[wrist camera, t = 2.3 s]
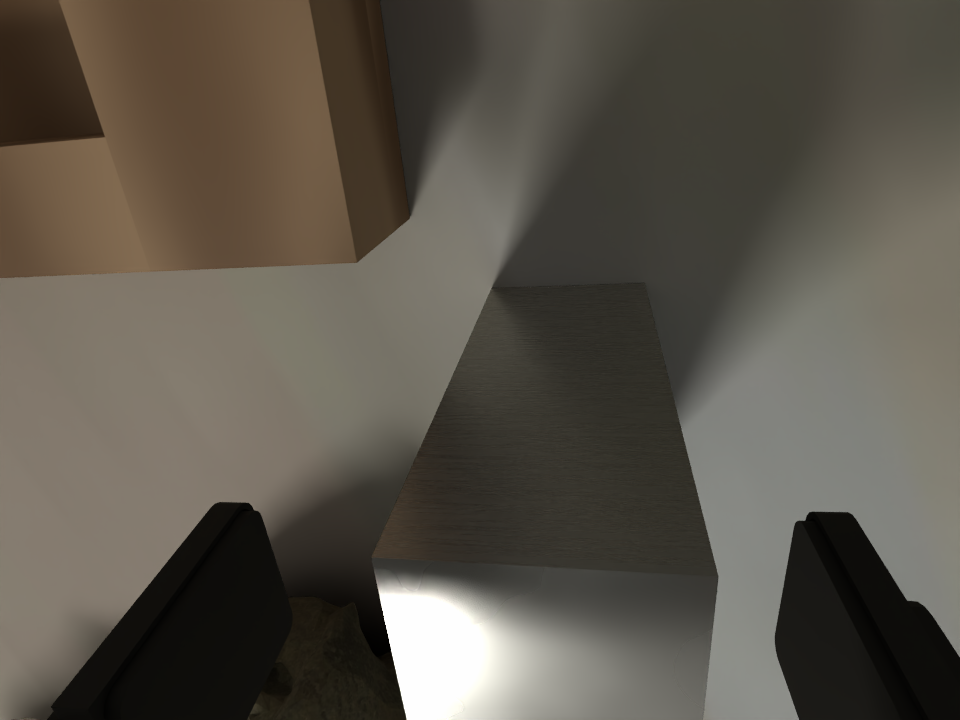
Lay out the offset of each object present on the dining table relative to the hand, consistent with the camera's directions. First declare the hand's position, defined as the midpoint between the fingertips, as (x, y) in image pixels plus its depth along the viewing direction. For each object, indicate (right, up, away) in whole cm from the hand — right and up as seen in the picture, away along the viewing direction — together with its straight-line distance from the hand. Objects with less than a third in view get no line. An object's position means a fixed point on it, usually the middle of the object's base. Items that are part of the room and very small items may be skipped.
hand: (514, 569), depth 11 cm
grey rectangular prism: (+2, +3, +6) cm, 7 cm away
